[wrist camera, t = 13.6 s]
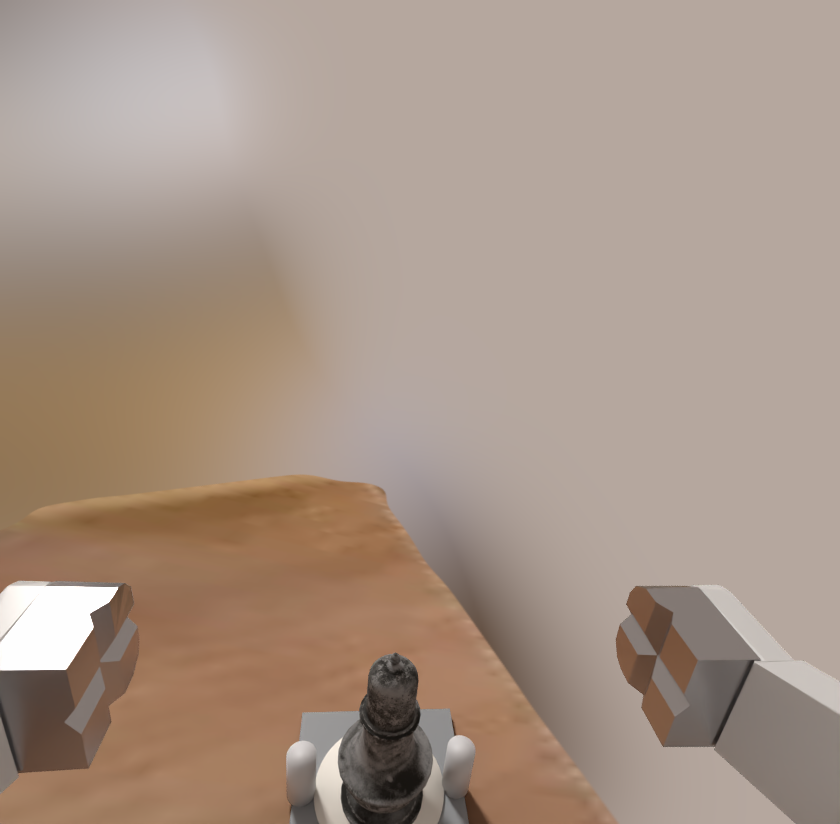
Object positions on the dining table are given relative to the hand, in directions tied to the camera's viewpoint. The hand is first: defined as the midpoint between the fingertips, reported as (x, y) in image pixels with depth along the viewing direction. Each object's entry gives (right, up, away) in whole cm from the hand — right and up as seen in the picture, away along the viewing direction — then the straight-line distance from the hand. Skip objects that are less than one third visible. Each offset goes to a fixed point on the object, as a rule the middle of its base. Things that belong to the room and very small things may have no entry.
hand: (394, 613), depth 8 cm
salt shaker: (-2, -21, +25) cm, 33 cm away
